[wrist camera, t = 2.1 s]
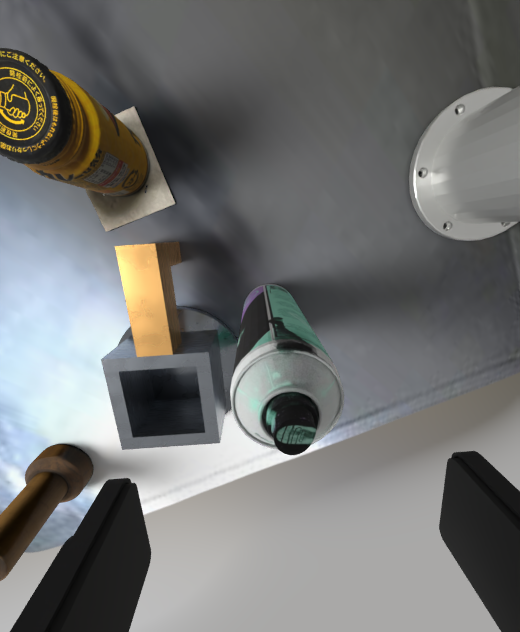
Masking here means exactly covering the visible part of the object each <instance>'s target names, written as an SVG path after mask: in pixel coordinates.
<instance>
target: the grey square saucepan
mask: <svg viewBox="0 0 520 632" xmlns="http://www.w3.org/2000/svg"><path fill="white" fill-rule="evenodd" d="M115 248H116V253H117V258H118V263H119V269H120V274H121V279H122V284H123V289H124V294H125V299H126V304H127V309H128V314H129V319H130V324H131V327H130V328H129V329H128V330H127V331H126V332H125V334H124V335H123V337H122V338H121V340H120V342H119V344H118V346H117V347H116V348H115V349H114V350H112V351H111V352H110V353H109V354H107V355H106V356H105V357H104V358H102V359H101V361H102V365H103V369H104V374H105V378H106V382H107V386H108V391H109V395H110V399H111V403H112V408H113V412H114V416H115V421H116V425H117V429H118V433H119V438H120V442H121V446H122V450H124V449H139V448H153V447H168V446H183V445H197V444H212V443H220V440H221V434H222V428H223V422H224V416H225V414H226V413H227V412H228V411H229V410H230V409H231V408H232V407H231V395H230V389H231V382H232V376H233V370H234V364H235V357H236V351H237V345H238V339H237V338H236V336H235V335H234V333H233V332H232V331H231V330H230V329H229V328H228V327H227V326H226V325H225V324H224V323H223V322H222V321H220V320H219V319H217V318H216V317H214V316H212V315H210V314H209V313H206V312H204V311H201V310H198V309H194V308H189V307H176V300H175V294H174V287H173V280H172V274H171V267H170V266H173V265H176V264H178V263H181V262H182V261H181V253H180V246H179V242H168V243H153V244H140V245H127V246H115Z"/></svg>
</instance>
